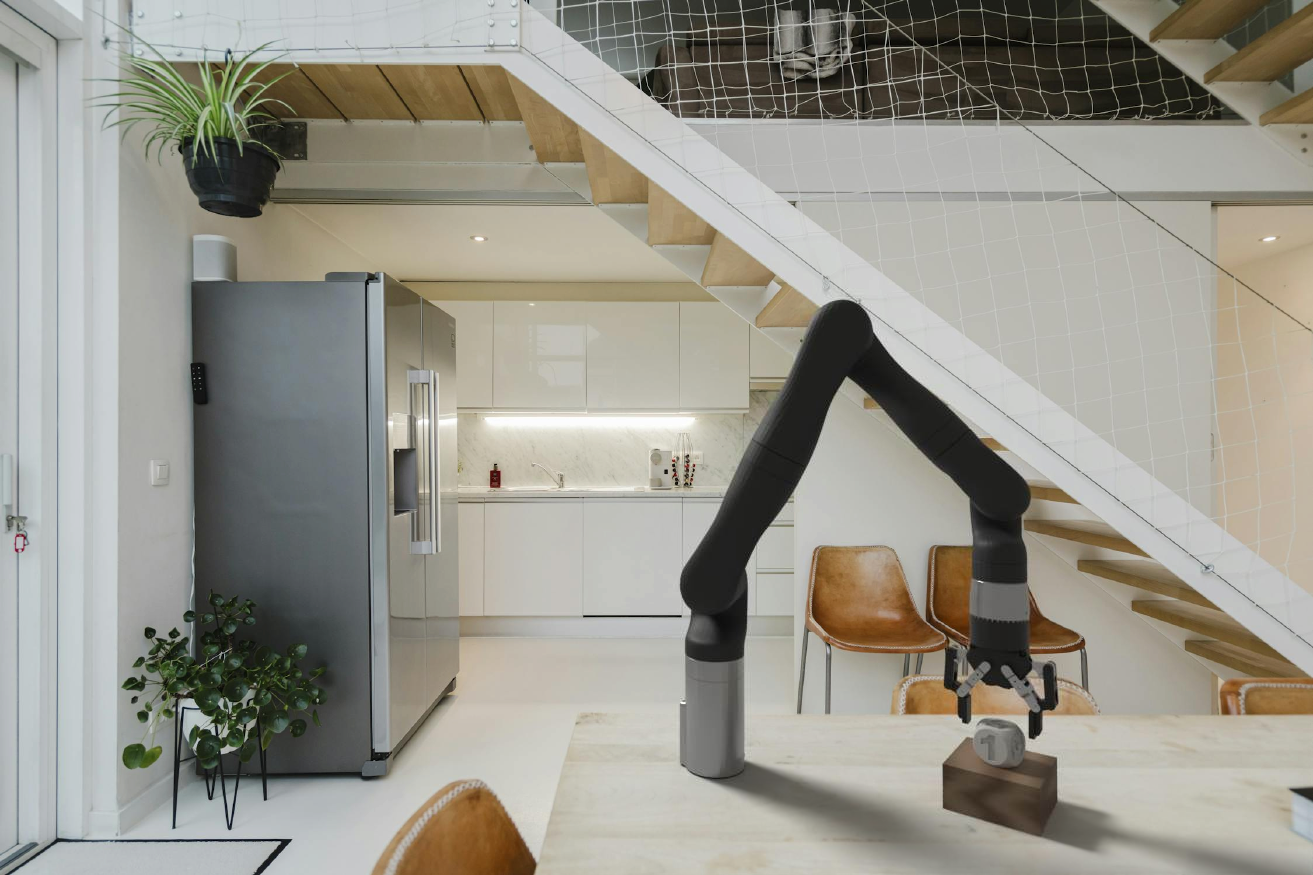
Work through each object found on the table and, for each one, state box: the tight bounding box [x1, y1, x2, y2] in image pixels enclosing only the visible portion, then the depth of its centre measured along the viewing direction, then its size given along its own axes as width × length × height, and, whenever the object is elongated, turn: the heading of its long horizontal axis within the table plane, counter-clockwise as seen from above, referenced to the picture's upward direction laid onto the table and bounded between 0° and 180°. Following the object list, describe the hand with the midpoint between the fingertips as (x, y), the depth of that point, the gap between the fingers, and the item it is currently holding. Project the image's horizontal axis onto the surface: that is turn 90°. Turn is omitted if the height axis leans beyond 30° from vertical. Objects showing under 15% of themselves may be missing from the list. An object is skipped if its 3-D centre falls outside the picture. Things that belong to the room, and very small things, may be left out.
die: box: [972, 717, 1027, 768], centre depth 101 cm, size 5×5×5 cm
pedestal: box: [941, 736, 1059, 837], centre depth 101 cm, size 12×12×6 cm
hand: (999, 729), depth 101 cm, fingers open, 8 cm apart
